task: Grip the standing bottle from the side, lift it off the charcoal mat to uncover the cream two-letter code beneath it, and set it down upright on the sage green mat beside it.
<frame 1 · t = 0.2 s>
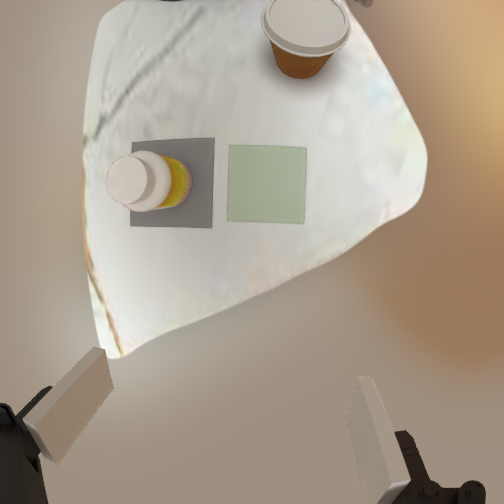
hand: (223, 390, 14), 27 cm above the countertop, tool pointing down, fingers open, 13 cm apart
code mat: (169, 182, 39), on the countertop
supplement bottle: (169, 182, 39), resting on code mat
disposable coffee cup: (299, 60, 35), on the countertop
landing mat: (266, 183, 38), on the countertop
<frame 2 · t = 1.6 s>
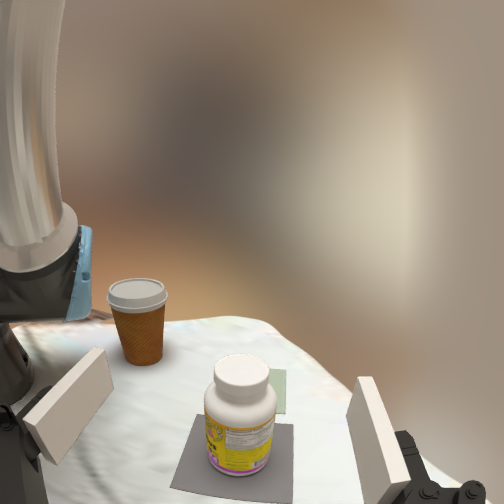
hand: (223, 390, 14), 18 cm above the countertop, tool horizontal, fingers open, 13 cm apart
code mat: (238, 456, 27), on the countertop
supplement bottle: (238, 456, 27), resting on code mat
disposable coffee cup: (143, 356, 45), on the countertop
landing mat: (250, 387, 40), on the countertop
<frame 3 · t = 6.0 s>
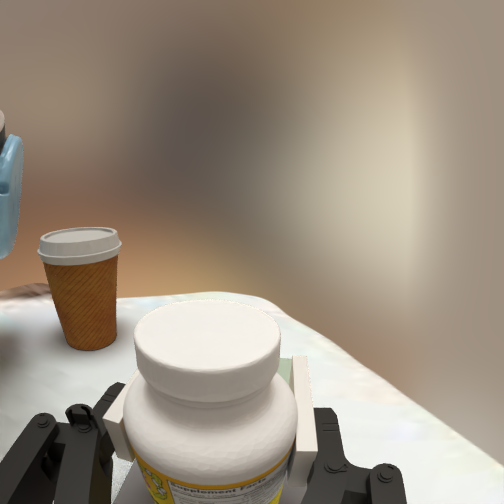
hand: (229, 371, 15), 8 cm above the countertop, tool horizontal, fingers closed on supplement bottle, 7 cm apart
disposable coffee cup: (91, 338, 30), on the countertop
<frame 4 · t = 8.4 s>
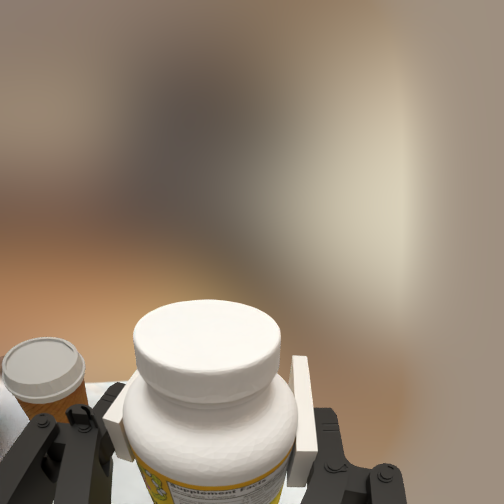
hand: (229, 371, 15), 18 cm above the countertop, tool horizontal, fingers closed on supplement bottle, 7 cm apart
disposable coffee cup: (72, 441, 25), on the countertop
when the fingers open (9 cm above the countertop, at t = 11.2 s): supplement bottle drops 1 cm, resting on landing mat.
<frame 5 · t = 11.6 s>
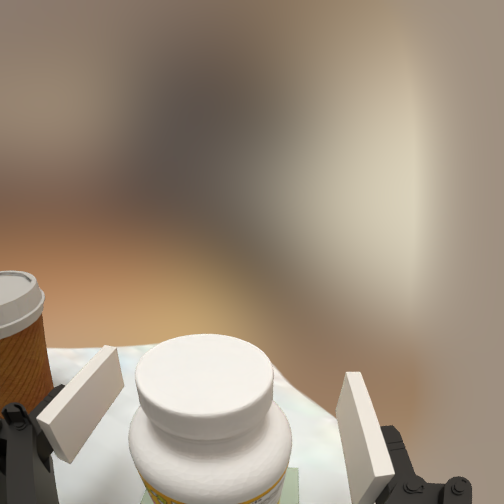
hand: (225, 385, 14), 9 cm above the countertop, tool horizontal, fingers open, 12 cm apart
disposable coffee cup: (30, 414, 18), on the countertop
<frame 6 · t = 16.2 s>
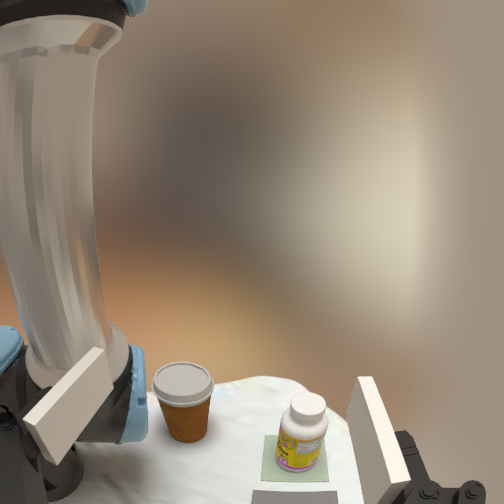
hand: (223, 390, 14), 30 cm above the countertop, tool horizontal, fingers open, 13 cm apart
supplement bottle: (295, 458, 38), resting on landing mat
disposable coffee cup: (187, 430, 44), on the countertop
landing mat: (295, 458, 38), on the countertop
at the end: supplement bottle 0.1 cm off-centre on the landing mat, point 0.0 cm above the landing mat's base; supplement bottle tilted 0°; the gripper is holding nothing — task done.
